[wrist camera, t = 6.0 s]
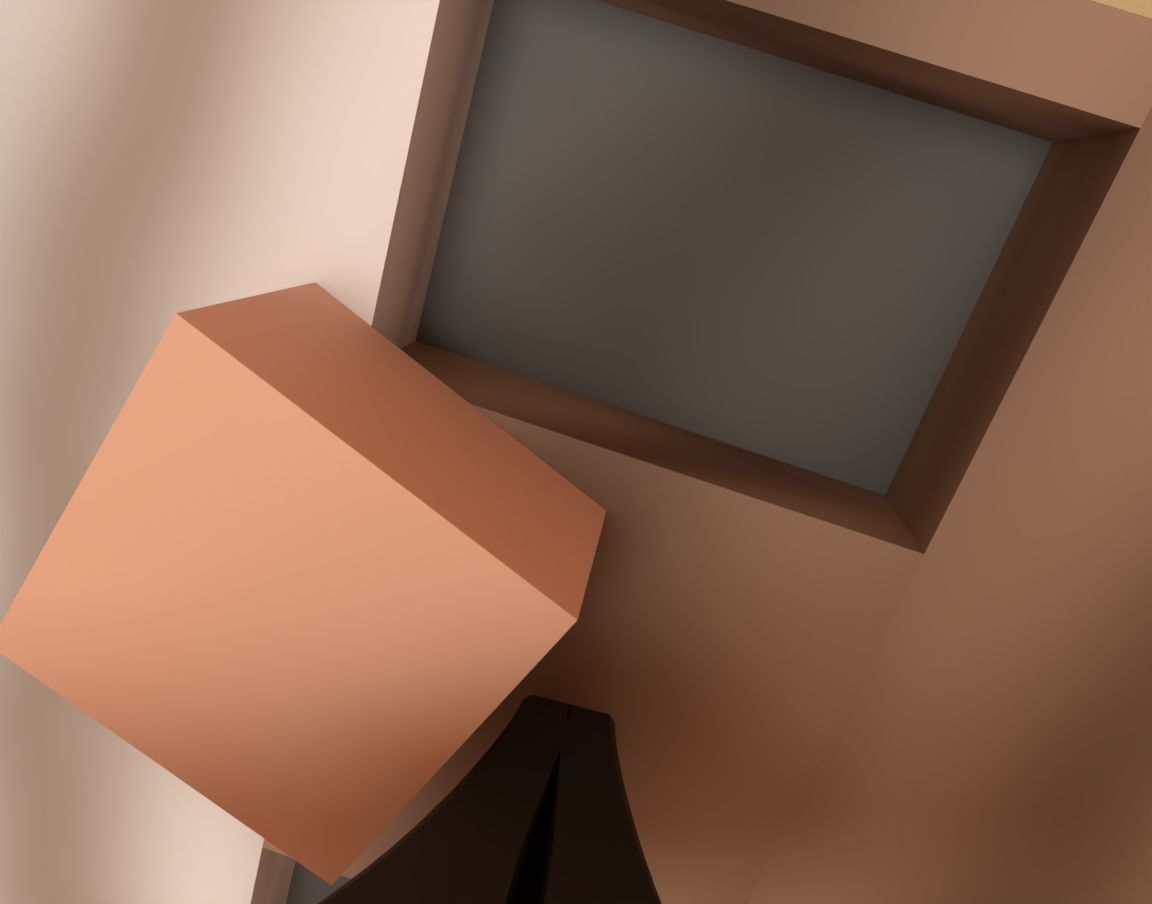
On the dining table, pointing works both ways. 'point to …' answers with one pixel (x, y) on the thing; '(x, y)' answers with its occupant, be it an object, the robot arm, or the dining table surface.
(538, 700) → the robot arm
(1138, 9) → the dining table surface
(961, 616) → the trap board
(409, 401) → the terracotta block
